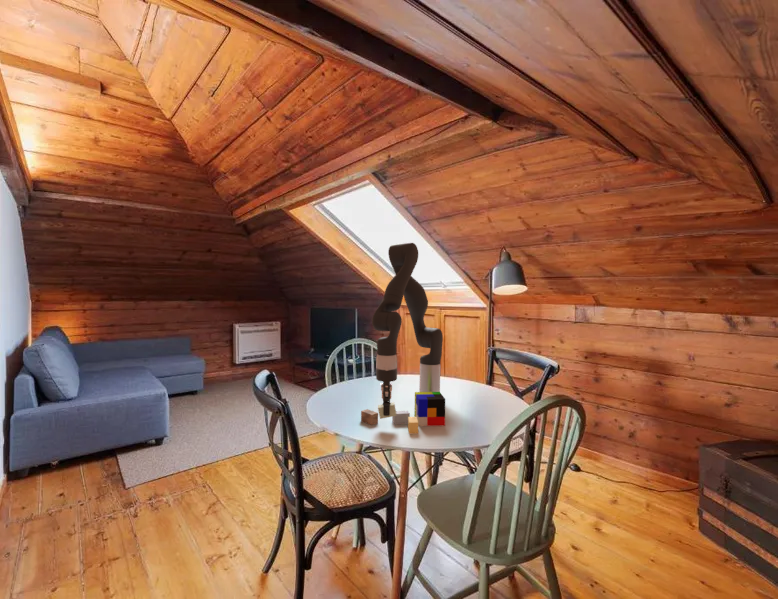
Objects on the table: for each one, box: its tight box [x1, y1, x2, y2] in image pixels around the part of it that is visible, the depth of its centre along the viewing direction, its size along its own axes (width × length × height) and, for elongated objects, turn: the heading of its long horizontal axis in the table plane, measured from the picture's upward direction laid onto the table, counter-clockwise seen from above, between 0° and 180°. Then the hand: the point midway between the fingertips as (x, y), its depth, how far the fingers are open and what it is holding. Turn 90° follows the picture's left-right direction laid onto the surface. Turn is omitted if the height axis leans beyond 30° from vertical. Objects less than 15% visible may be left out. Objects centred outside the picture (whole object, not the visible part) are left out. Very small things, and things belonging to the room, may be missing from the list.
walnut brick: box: [360, 408, 379, 426], centre depth 150 cm, size 6×3×4 cm, turn 45°
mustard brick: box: [407, 416, 419, 434], centre depth 142 cm, size 6×3×4 cm, turn 1°
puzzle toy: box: [413, 391, 446, 427], centre depth 152 cm, size 10×10×10 cm
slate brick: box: [391, 410, 411, 425], centre depth 150 cm, size 6×3×4 cm, turn 101°
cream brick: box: [377, 401, 397, 419], centre depth 143 cm, size 6×3×4 cm, turn 91°
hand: (386, 413), depth 143 cm, fingers closed on cream brick, 3 cm apart
